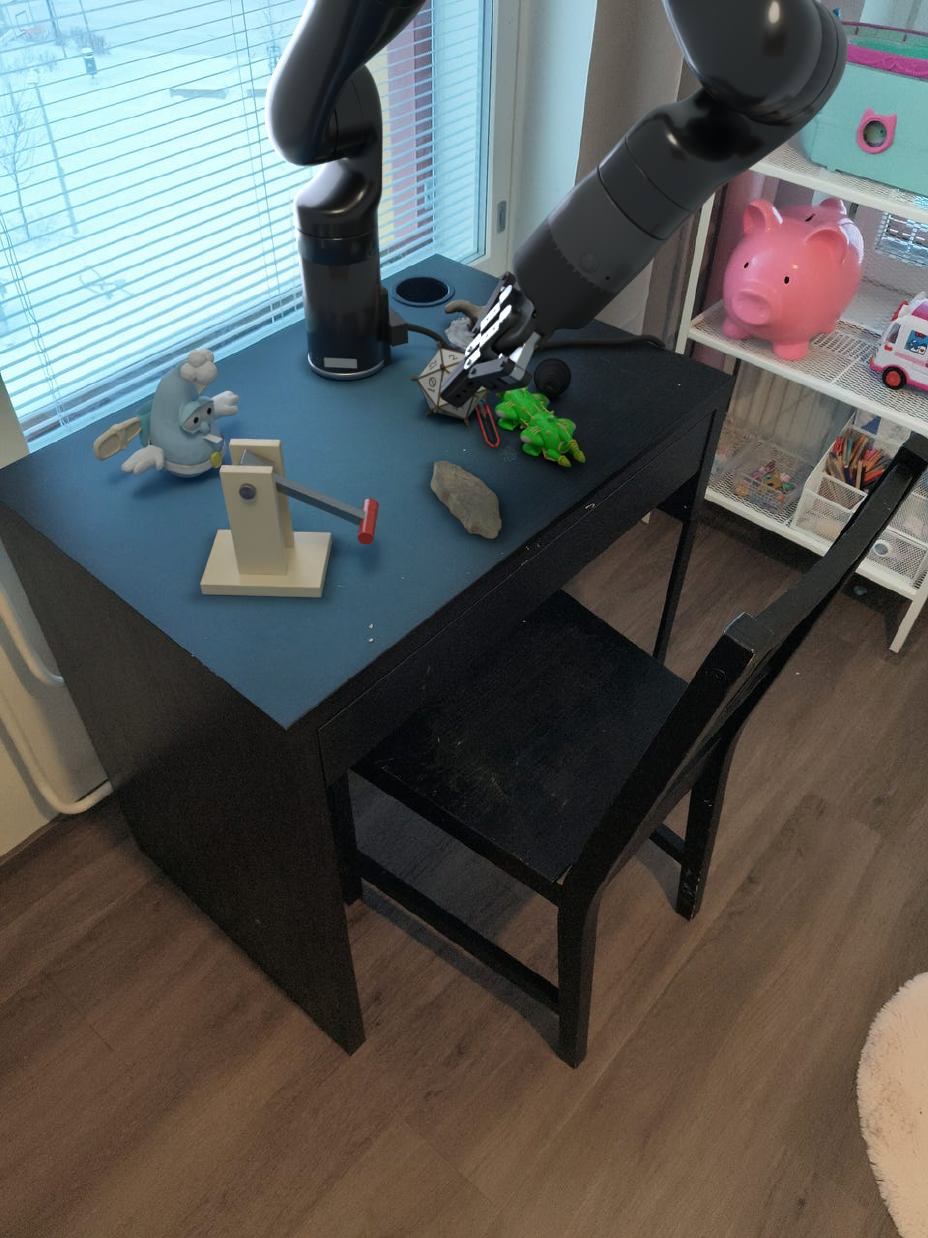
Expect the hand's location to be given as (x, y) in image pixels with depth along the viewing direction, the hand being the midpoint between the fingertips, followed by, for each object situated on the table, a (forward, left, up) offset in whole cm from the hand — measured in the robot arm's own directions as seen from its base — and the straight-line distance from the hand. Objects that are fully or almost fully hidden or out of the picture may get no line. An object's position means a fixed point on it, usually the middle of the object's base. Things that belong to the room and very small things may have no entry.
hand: (449, 397), depth 83 cm
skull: (-24, -36, -18) cm, 47 cm away
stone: (-3, -8, -17) cm, 19 cm away
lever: (+12, -5, -10) cm, 17 cm away
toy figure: (+17, -26, -18) cm, 36 cm away
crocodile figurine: (-19, -15, -18) cm, 30 cm away
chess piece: (-25, -22, -16) cm, 37 cm away
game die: (-12, -23, -18) cm, 32 cm away
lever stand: (+16, -7, -18) cm, 25 cm away
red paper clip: (-16, -21, -17) cm, 32 cm away
